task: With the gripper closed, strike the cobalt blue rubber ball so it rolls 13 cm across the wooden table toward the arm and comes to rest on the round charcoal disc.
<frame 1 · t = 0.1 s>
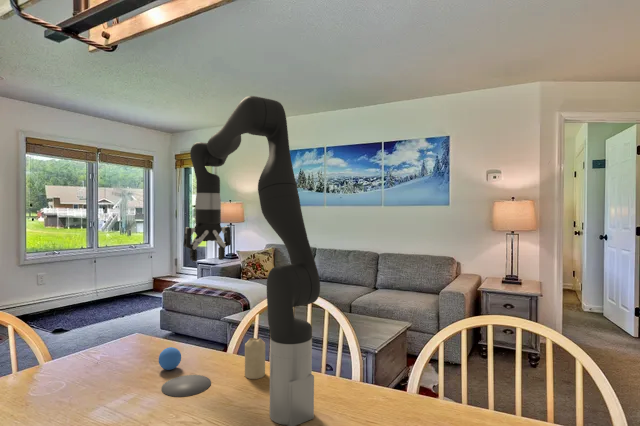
hand: (207, 260, 122), 29 cm above the table, tool pointing down, fingers open, 8 cm apart
ball: (170, 358, 111), on the table
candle: (254, 375, 108), on the table
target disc: (186, 385, 101), on the table
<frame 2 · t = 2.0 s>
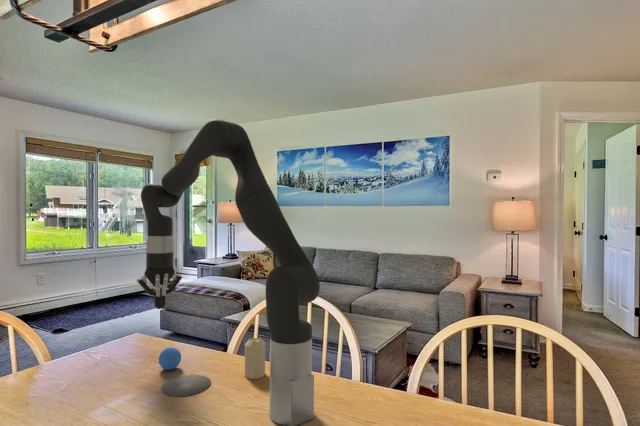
hand: (159, 308, 119), 15 cm above the table, tool pointing down, fingers closed
nothing on the table moved.
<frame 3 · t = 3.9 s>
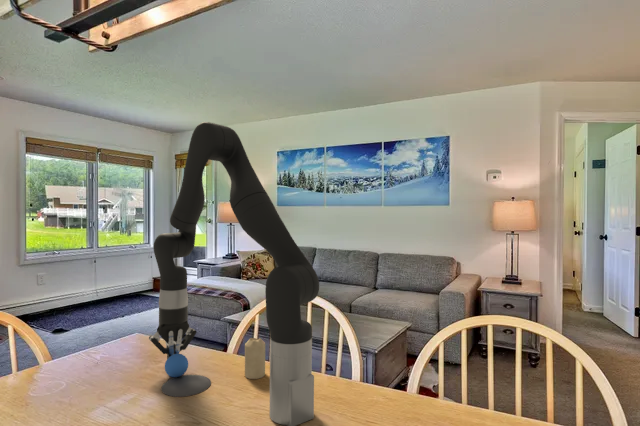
hand: (173, 366, 110), 1 cm above the table, tool pointing down, fingers closed
ball: (176, 365, 107), on the table, touching gripper
everything else where it was.
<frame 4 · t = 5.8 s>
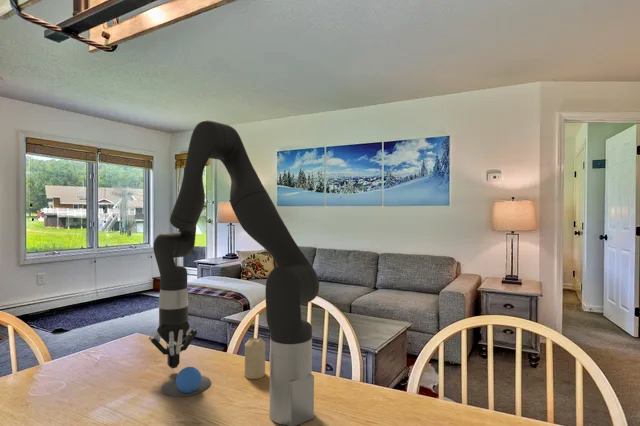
hand: (173, 367, 109), 2 cm above the table, tool pointing down, fingers closed
ball: (188, 379, 98), on the table
everything else where it was.
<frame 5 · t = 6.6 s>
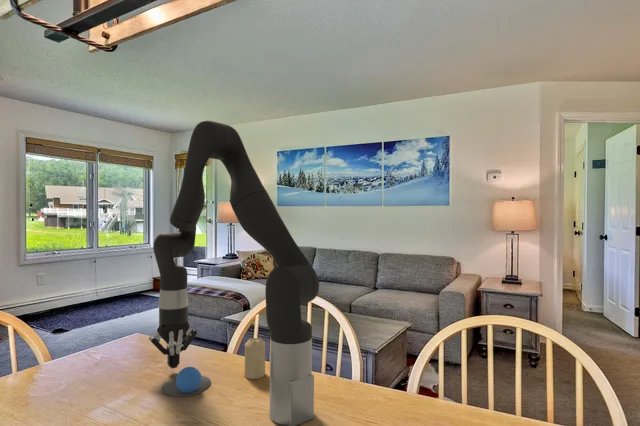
hand: (173, 367, 109), 2 cm above the table, tool pointing down, fingers closed
nothing on the table moved.
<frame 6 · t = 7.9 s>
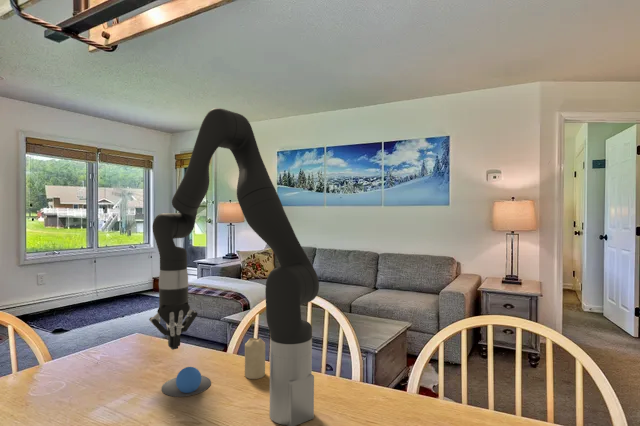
hand: (174, 348, 109), 7 cm above the table, tool pointing down, fingers closed
nothing on the table moved.
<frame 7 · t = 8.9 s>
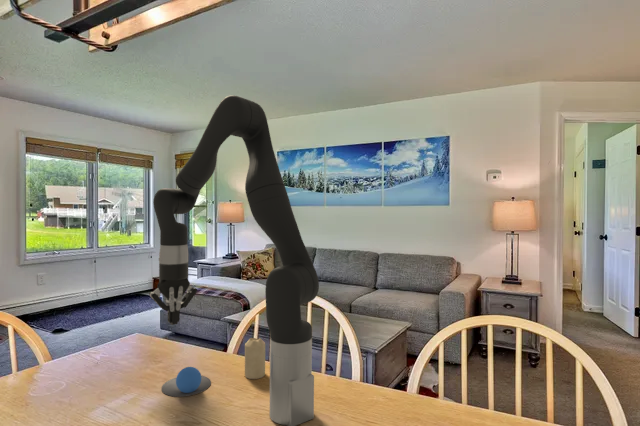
hand: (173, 323, 109), 13 cm above the table, tool pointing down, fingers closed
nothing on the table moved.
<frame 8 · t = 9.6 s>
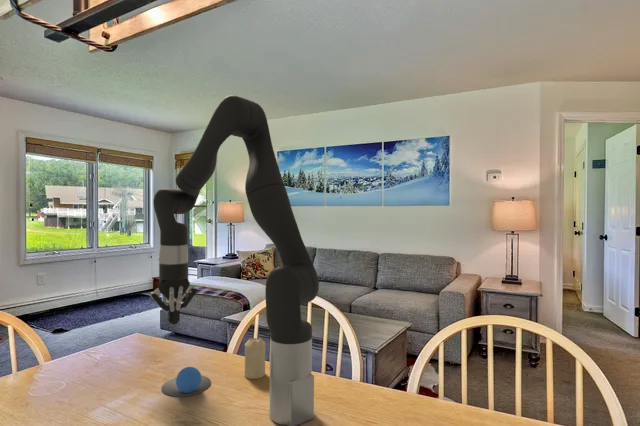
hand: (173, 323, 109), 14 cm above the table, tool pointing down, fingers closed
nothing on the table moved.
at the end: ball 3.8 cm from the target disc (horizontally); ball at rest at the end (0.0 cm/s); ball moved 16.7 cm from its start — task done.
